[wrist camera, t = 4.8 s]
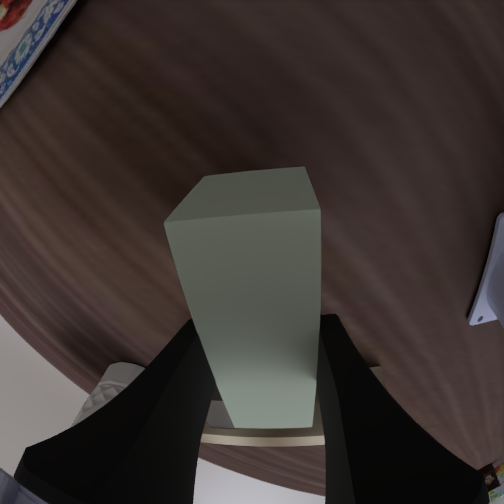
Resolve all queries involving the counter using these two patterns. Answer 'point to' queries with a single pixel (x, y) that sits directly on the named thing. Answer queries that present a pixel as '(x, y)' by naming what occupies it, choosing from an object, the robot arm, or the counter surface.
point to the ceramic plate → (26, 36)
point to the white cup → (109, 387)
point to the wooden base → (224, 432)
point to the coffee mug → (490, 477)
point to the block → (254, 289)
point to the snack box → (503, 477)
